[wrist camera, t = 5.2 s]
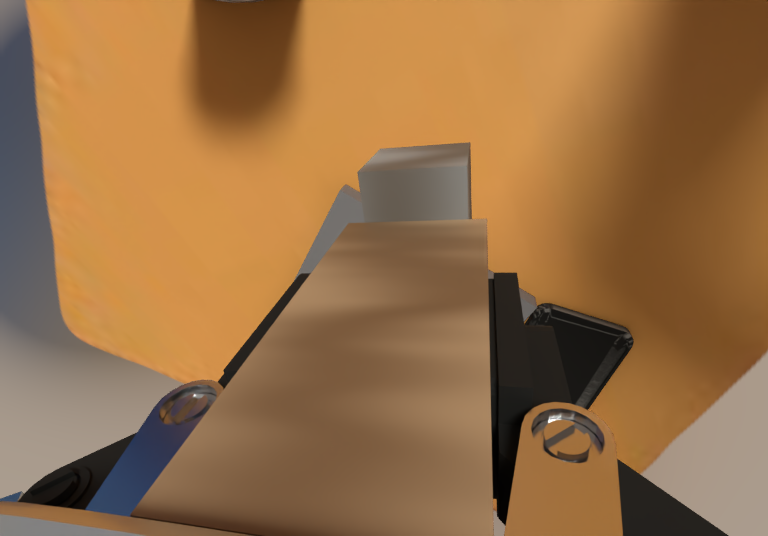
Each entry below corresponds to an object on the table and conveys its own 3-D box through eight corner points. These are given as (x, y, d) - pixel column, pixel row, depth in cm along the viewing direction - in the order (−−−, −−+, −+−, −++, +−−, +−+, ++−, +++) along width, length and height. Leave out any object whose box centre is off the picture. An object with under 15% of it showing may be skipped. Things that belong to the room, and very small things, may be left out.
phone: (639, 336, 32) (553, 458, 39) (634, 327, 33) (551, 448, 40) (538, 304, 32) (471, 431, 40) (536, 296, 33) (472, 421, 41)
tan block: (486, 141, 14) (496, 458, 3) (486, 322, 17) (492, 781, 6) (366, 149, 15) (71, 417, 4) (387, 320, 18) (250, 716, 7)
